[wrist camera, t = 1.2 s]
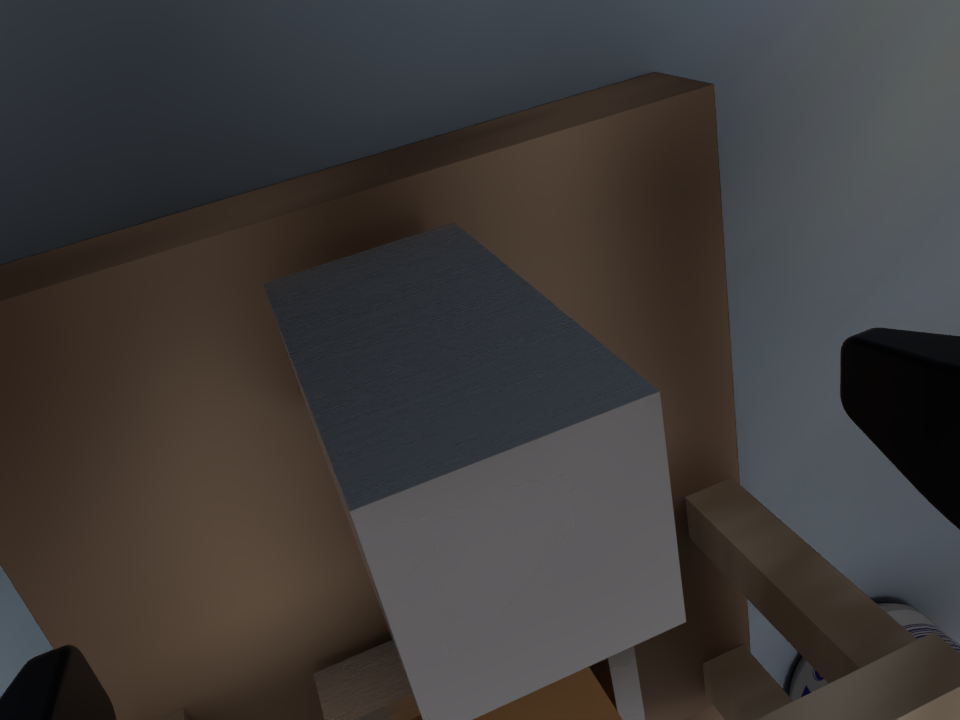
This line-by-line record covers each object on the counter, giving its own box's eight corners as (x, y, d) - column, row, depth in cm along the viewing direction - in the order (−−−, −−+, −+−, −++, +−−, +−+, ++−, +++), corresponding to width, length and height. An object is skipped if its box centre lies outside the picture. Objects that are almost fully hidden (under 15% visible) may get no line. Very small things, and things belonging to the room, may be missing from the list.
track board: (655, 71, 17) (713, 84, 15) (722, 770, 27) (761, 824, 26) (-106, 296, 14) (-139, 343, 12) (301, 984, 24) (313, 1060, 23)
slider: (524, 178, 14) (805, 335, 8) (625, 740, 21) (816, 1046, 15) (151, 295, 13) (161, 584, 7) (390, 854, 20) (498, 1238, 14)
